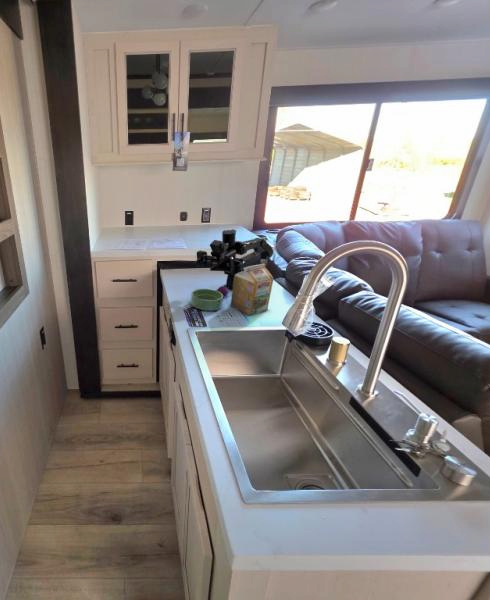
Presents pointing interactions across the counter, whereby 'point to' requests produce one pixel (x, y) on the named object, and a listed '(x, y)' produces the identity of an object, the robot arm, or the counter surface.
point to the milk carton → (252, 290)
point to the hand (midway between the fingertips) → (201, 267)
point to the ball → (223, 290)
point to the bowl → (206, 299)
